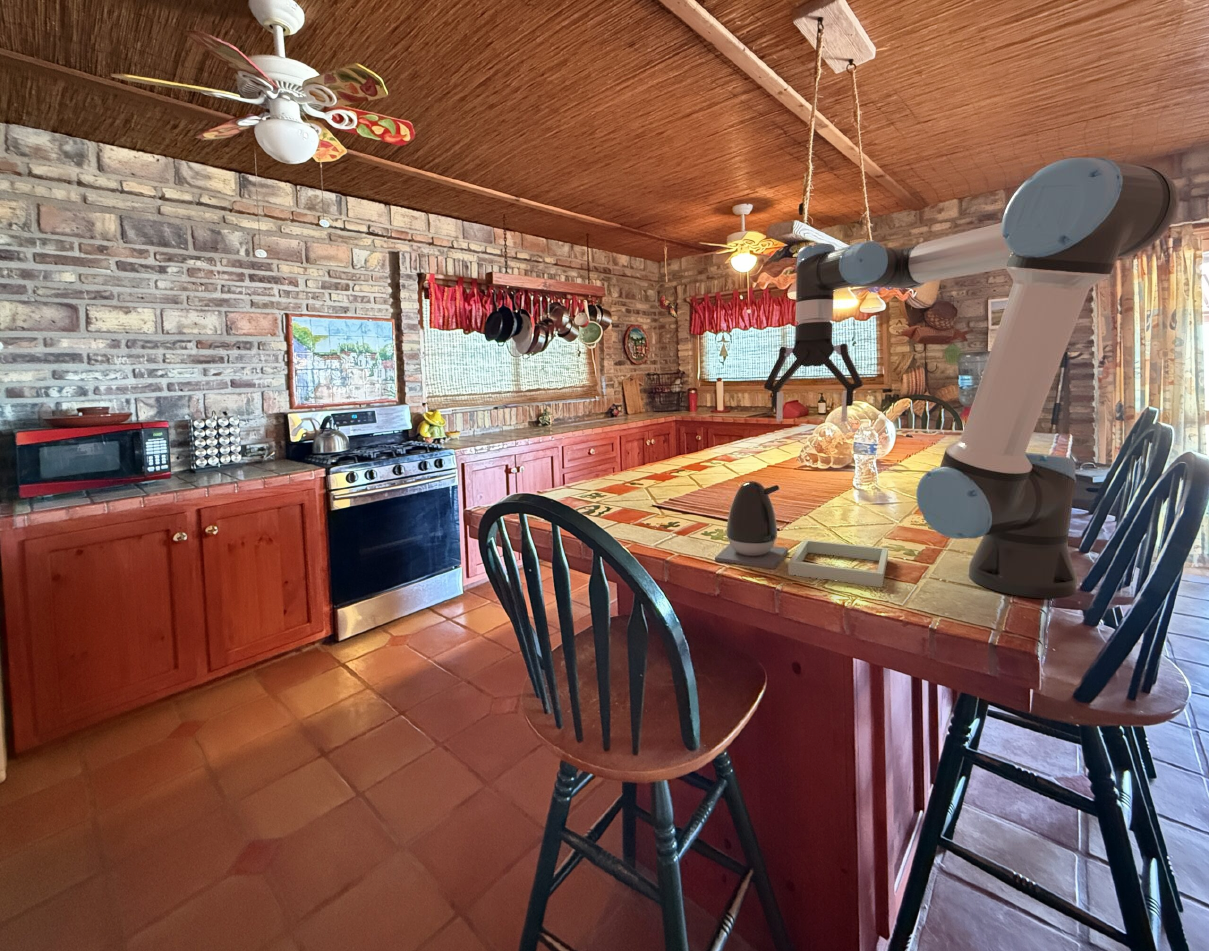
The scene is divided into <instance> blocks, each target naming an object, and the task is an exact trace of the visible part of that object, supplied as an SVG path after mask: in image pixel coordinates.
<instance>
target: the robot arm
mask: <svg viewBox="0 0 1209 951" xmlns="http://www.w3.org/2000/svg"><path fill="white" fill-rule="evenodd" d="M1179 207H1180V194H1179V190H1178V187H1177V185H1176V183H1175V182H1174V180H1173V179H1172V178H1171V176H1169V175H1168V174H1167V173H1165V172H1163V171H1161V170H1160V169H1157V168H1154V167H1151V166H1147V165H1146V166H1145V165H1138V164H1137V165H1136V164H1132V163H1131V164H1130V163H1126V162H1121V161H1116V160H1113V159H1112V160H1111V159H1108V158H1105V157H1092V156H1089V157H1071V158H1065V159H1061V160H1058V161H1055V162H1052V163H1050V164H1048V165H1046V166H1045V167H1043V168H1041V169H1039V170H1038V171H1037V172H1036V173H1034V174H1033V175H1032V176H1031V177H1029V178H1027V180H1025V181H1024V182H1023V183H1022V184H1021V185H1020V187H1019V188H1018V189H1017V190H1016V191H1015V192H1014V194H1013V195H1012V197H1011V198H1010V200H1009V202H1008V204H1007V205H1006V208H1005V210H1004V213H1003V216H1002V220H1001V222H999V223H995V224H991V225H987V226H982V227H980V228H979V227H978V228H976V229H972V230H967V231H963V232H960V233H959V232H958V233H956V234H951V235H949V236H944V237H940V238H936V239H933V240H929V241H924V242H921V243H918V244H913V245H910V246H905V247H885V246H883V245H881V244H880V242H878V241H875V240H868V241H864V242H863V241H861V242H860V241H859V242H855V243H854V244H851V245H849V246H845V247H842V248H839V249H836V247H835V246H834V245H833V244H831V243H815V244H811V245H806V246H803V247H801V248H800V249H799V250H798V252H797V258H796V259H797V260H796V268H795V270H796V275H795V276H796V277H795V278H796V279H795V280H796V282H795V283H796V285H795V286H796V287H795V290H796V291H795V297H796V298H795V320H794V321H796V322H797V323H798V324H796V326H795V327H794V331H795V333H794V345H793V347H786V346H781V347H779V352H778V358H777V360H776V362H775V363H774V366H772V367H773V368H772V369H771V371H770V374H769V376H768V377H767V379H766V381H765V383H764V385H763V388H764V390H768V391H770V392H771V394H772V397H771V398H772V401H771V405H772V407H776V422H783V413H784V412H783V411H784V410H783V408H784V407H783V406H784V391H781V389H782V388H783V387H784V385H786V384H787V382H788V381H789V380H790V379H791V378H792V376H793V375H794V374H795V373H796V372H797V370H799V369H800V368H801V366H802V367H805V368H806V367H808V368H809V367H813V366H814V367H822V366H823V365H824V366H825V367H826V368H827V369H828V370H829V372H831V374H832V375H833V376H834V377H835V378H836V379H837V380H838V381H839V383H840V384H841V385H842V386H843V387H844V388H845V389H846V390H843V391H842V395H841V398H842V399H841V418H840V419H841V420H840V422H841V423H846V422H847V421H848V407H852V406H853V404H854V391H855V390H856V389H859V388H862V387H863V386H864V383H863V380H862V378H861V377H860V375H859V372H858V370H857V368H856V366H855V363H854V362H853V360H852V358H851V356H850V355H849V346H848V344H847V343H841V344H837V345H834V344H833V327H834V326H833V323H832V322H831V320H832V319H833V318H834V315H833V314H834V298H835V297H834V292H835V290H840V289H846V288H850V287H851V288H853V287H856V288H857V287H858V288H859V287H861V288H895V289H902V290H904V289H906V290H907V289H914V288H920V287H921V286H923V285H925V284H927V283H931V282H936V281H937V282H938V281H942V280H948V279H954V278H960V277H965V276H970V275H975V274H976V275H977V274H981V273H982V274H983V273H987V272H993V271H998V270H1006V271H1007V273H1008V274H1009V275H1010V277H1011V278H1012V282H1013V283H1012V286H1011V289H1010V292H1009V295H1008V298H1007V302H1006V304H1005V306H1004V310H1003V313H1002V316H1001V319H1000V322H999V324H998V325H999V326H998V328H997V330H996V333H995V336H994V340H993V343H992V345H991V349H990V351H989V355H988V357H987V360H986V363H985V366H984V368H983V372H982V375H981V378H980V380H979V384H978V386H977V390H976V392H975V396H974V399H973V402H972V404H971V407H970V410H969V414H968V417H967V420H966V422H965V425H964V427H963V428H964V429H963V432H962V434H961V438H960V439H959V440H957V441H954V442H952V443H950V444H948V445H947V446H946V448H945V450H944V452H943V453H944V454H943V456H942V459H941V463H940V466H937V467H934V468H933V469H931V470H929V471H928V472H926V473H925V474H924V475H923V476H922V477H921V478H920V479H919V481H918V484H917V488H916V494H915V496H916V505H917V507H918V510H919V512H920V513H921V514H922V517H923V520H924V522H926V524H928V526H929V527H930V528H931V529H932V530H934V531H936V532H937V534H939V535H942V536H945V537H947V538H950V539H956V540H963V539H973V540H974V539H978V538H981V540H980V542H979V544H978V546H977V548H976V550H975V552H974V554H973V556H972V558H971V560H970V562H969V569H968V578H970V580H971V581H973V582H974V583H976V584H978V585H980V586H982V587H984V588H987V589H989V590H992V591H995V592H998V593H1003V594H1007V595H1012V596H1019V597H1024V598H1033V599H1049V600H1050V599H1051V600H1052V599H1064V598H1068V597H1071V596H1074V594H1076V592H1077V583H1078V578H1077V574H1076V571H1075V567H1074V565H1073V560H1072V556H1071V554H1070V550H1069V547H1068V546H1069V545H1068V542H1069V533H1070V526H1071V517H1072V510H1073V502H1074V500H1073V499H1074V493H1075V486H1076V485H1075V483H1077V477H1076V467H1077V466H1076V463H1075V461H1074V460H1073V458H1072V457H1071V458H1070V457H1068V456H1063V455H1062V456H1061V455H1055V454H1054V455H1053V454H1045V453H1037V452H1036V453H1035V452H1026V451H1027V449H1028V446H1029V444H1030V441H1031V439H1032V436H1033V433H1034V431H1035V428H1036V426H1037V424H1038V421H1039V419H1040V416H1041V414H1042V411H1043V408H1044V406H1045V403H1046V401H1047V398H1048V395H1049V393H1050V390H1051V387H1052V385H1053V383H1054V380H1055V377H1056V375H1057V372H1058V370H1059V367H1060V365H1061V364H1062V360H1063V358H1064V355H1065V352H1066V349H1067V347H1068V345H1069V342H1070V339H1071V337H1072V335H1073V332H1074V330H1075V327H1076V324H1077V321H1078V319H1079V316H1080V314H1081V311H1082V309H1083V307H1084V304H1085V301H1086V298H1087V296H1088V294H1089V291H1090V289H1092V288H1093V287H1094V286H1095V285H1097V284H1100V283H1101V282H1103V281H1104V280H1105V279H1108V278H1110V276H1111V274H1112V272H1113V268H1114V265H1115V264H1116V262H1117V260H1119V259H1124V258H1126V257H1131V256H1133V255H1135V254H1137V253H1140V252H1142V251H1144V250H1146V249H1147V248H1150V246H1152V245H1154V244H1155V243H1156V242H1157V241H1158V240H1160V239H1161V238H1162V237H1163V235H1164V234H1166V232H1167V231H1168V230H1169V228H1170V227H1171V226H1172V224H1173V223H1174V220H1175V218H1176V216H1177V213H1178V210H1179ZM834 352H836V354H837V355H839V356H841V359H842V361H843V363H844V365H845V367H846V369H847V370H848V372H849V374H850V377H851V378H852V379H851V380H852V381H853V383H852V382H851V381H850V380H849V379H848V378H847V377H846V376H845V375H844V374H843V372H842V371H840V369H839V368H838V367H837V366H836V364H835V363H834V362H833V361H832V360H831V359H830V357H831V356H832V355H833V353H834ZM791 354H793V356H794V357H795V358H796V359H795V360H794V361H793V363H792V364H791V366H790V367H789V368H788V369H787V370H786V371H785V373H783V375H782V376H781V378H779V379H778V380H777V382H776V383H775V381H776V379H777V378H778V376H779V374H780V372H781V369H782V368H783V366H784V364H785V362H786V360H787V358H789V357H790V355H791Z"/></svg>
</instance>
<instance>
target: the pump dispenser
mask: <svg viewBox="0 0 1209 951" xmlns="http://www.w3.org/2000/svg"><path fill="white" fill-rule="evenodd" d="M779 490H780V487H779V485H777V484H775V485H773V486H768V487H764V485H762V483H761V482H758V481H754V480H748V481H745V482H744V483H742V484H741V485H740V487H739V488H738V490H737V491H736V493H735V494H734V498H733V500H732V503H731V506H730V509H729V513H728V517H727V523H726V538H727V539H728V543H729V544H730V545H731V547H732V548H733V549H734V550H735V551H736V552H738V553H740V554H742V555H745V556H760V555H763V554H766V553H767V552H769V551H770V550H771V548H772V547H773V546H774V545H775V541H776V539H777V538H778V527H777V526H778V525H777V519H776V518H777V517H776V515H775V514H776V513H775V510H774V506H773V503H772V500H771V498H770V494H773V493H775V492H777V491H779Z"/></svg>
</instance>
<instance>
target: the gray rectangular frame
mask: <svg viewBox="0 0 1209 951" xmlns="http://www.w3.org/2000/svg"><path fill="white" fill-rule="evenodd" d="M809 553H810V554H820V555H825V554H826V556H833V555H834V557H835V556H836V557H844V558H849V559H851V558H852V559H860V560H869V561H876V562H877V561H878V566H877V570H868V569H859V568H853V567H851V568H850V567H844V566H836V565H827V564H822V563H821V564H820V563H814V562H813V563H812V562H806V561H804V559H805V558H806V557H807V555H808V554H809ZM888 555H889V548H888V547H879V546H869V545H861V544H850V543H843V542H831V541H822V540H813V539H803V540H802V541H801V543H800V545H799V546H798V547H797V549H796V550H795V552H794V554H793V555H792V557H790V559H789V561H787V562H788V566H787V567H788V568H787V570H788V571H787V575H788V574H789V575H788V576H794V575H796V576H795V577H801V576H802V578H809V577H811V579H816V578H817V580H823V579H830V580H837V581H836V582H838V581H842V582H841V583H845V582H848V583H847V584H852V583H855V584H854V585H861V586H865V587H866V586H867V587H874V588H875V587H876V588H881V589H883V586H884V585H883V584H884V579H885V575H886V570H887V564H888V561H889V559H888V558H889V557H888ZM830 580H829V581H830Z"/></svg>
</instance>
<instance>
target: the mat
mask: <svg viewBox="0 0 1209 951" xmlns="http://www.w3.org/2000/svg"><path fill="white" fill-rule="evenodd" d="M787 553H788V547H784V546H783V547H782V546H774V545H773V547H772V548H771V550H770V551H769V552H767V553H766V554H763V555H760V556H745V555H742V554H740V553H738V552H736V551H735V550H734V549H733V548H732V547H731V545H730V543H729V544H727V545H726V547H725V548H723V549H722V550H721V551H720V552H719V553H718V554H717V555H715V557H714V562H718V563H725V562H727V563H728V562H729V563H728V564H733V563H736V564H735V565H740V564H742V566H747V565H748V567H755V566H757V567H756V568H762V567H763V568H762V569H769V568H771V569H770V570H775V569H776V568H777V567H778V565H779V564H780V563H781V561H782V560H783V558H784V557H785V555H786V554H787ZM727 563H726V564H727ZM778 563H779V564H778Z"/></svg>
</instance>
